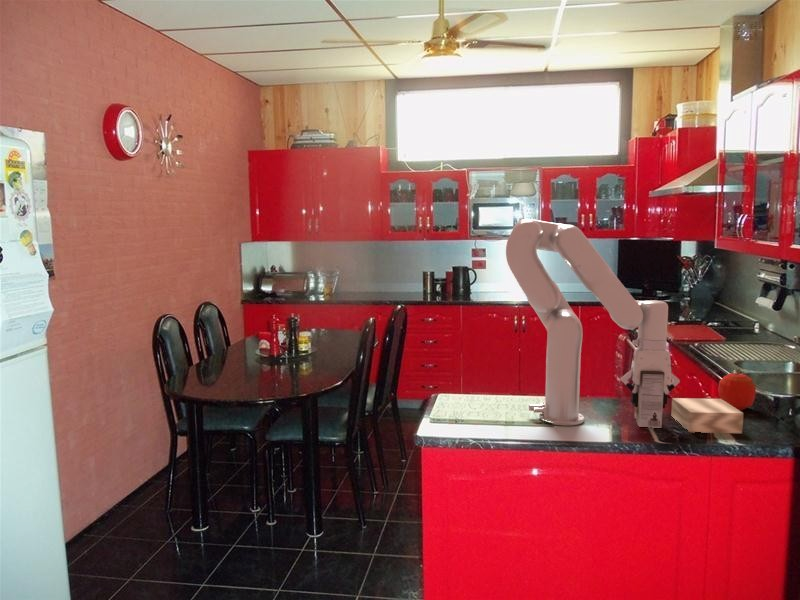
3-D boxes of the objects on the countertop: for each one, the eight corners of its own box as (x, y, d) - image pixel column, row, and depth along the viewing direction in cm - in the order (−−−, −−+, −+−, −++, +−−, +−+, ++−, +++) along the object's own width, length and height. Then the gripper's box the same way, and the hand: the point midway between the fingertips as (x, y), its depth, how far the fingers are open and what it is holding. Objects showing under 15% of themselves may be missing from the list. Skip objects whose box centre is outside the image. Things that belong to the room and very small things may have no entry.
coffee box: (633, 418, 190) (636, 364, 188) (656, 419, 189) (659, 365, 187) (638, 427, 181) (641, 371, 179) (662, 429, 180) (665, 372, 178)
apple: (758, 407, 201) (761, 371, 199) (748, 415, 193) (751, 377, 192) (723, 401, 207) (725, 366, 206) (712, 408, 200) (715, 371, 199)
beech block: (689, 433, 178) (690, 412, 177) (671, 417, 192) (672, 398, 191) (741, 434, 177) (743, 413, 176) (719, 418, 191) (720, 398, 190)
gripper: (622, 346, 179) (620, 409, 182) (688, 347, 178) (684, 411, 180) (617, 341, 187) (614, 401, 189) (679, 342, 185) (676, 403, 187)
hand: (648, 405), depth 184 cm, fingers closed on coffee box, 6 cm apart
